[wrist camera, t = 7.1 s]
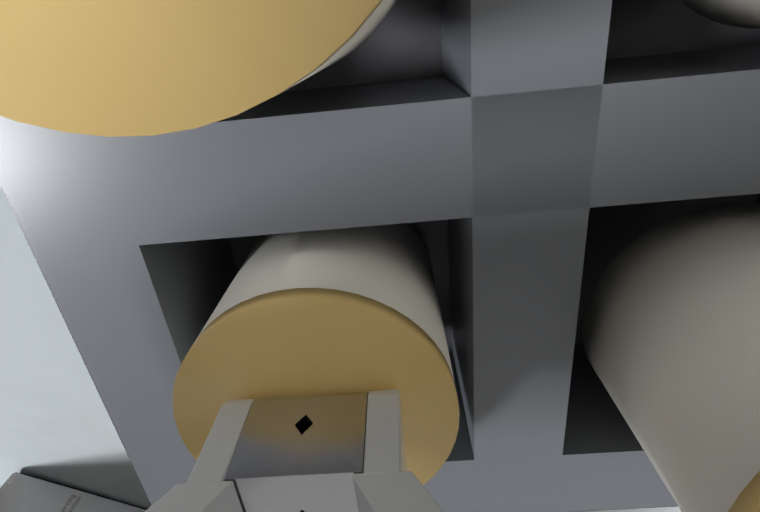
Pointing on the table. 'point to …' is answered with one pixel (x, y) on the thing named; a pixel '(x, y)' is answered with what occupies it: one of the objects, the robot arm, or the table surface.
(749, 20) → the button
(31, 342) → the table surface
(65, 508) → the coffee box
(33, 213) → the board
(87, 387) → the table surface
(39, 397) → the table surface
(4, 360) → the table surface
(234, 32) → the button
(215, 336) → the button
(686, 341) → the button
